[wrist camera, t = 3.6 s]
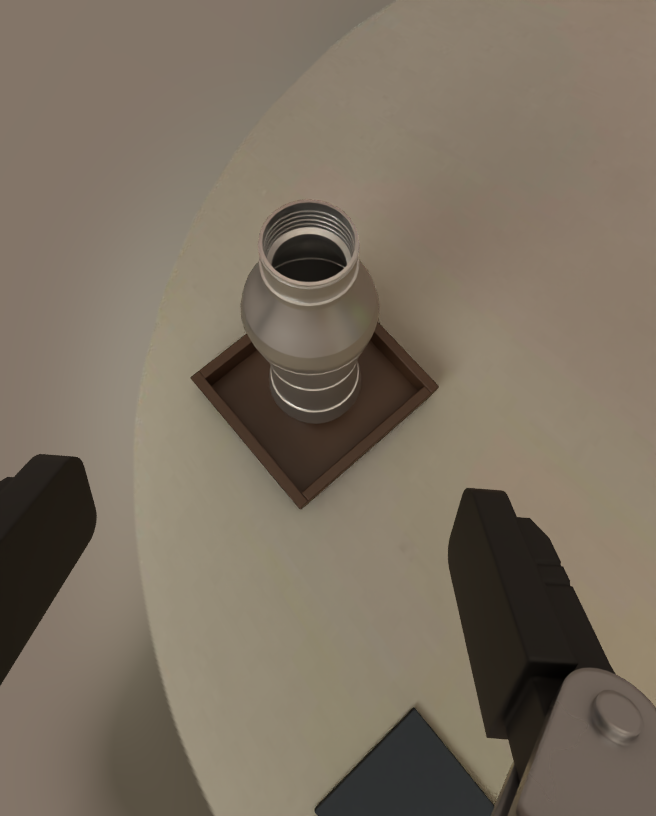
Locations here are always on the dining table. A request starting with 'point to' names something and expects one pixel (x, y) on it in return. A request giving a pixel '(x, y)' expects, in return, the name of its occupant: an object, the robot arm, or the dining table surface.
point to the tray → (307, 442)
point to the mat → (407, 779)
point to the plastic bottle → (310, 309)
